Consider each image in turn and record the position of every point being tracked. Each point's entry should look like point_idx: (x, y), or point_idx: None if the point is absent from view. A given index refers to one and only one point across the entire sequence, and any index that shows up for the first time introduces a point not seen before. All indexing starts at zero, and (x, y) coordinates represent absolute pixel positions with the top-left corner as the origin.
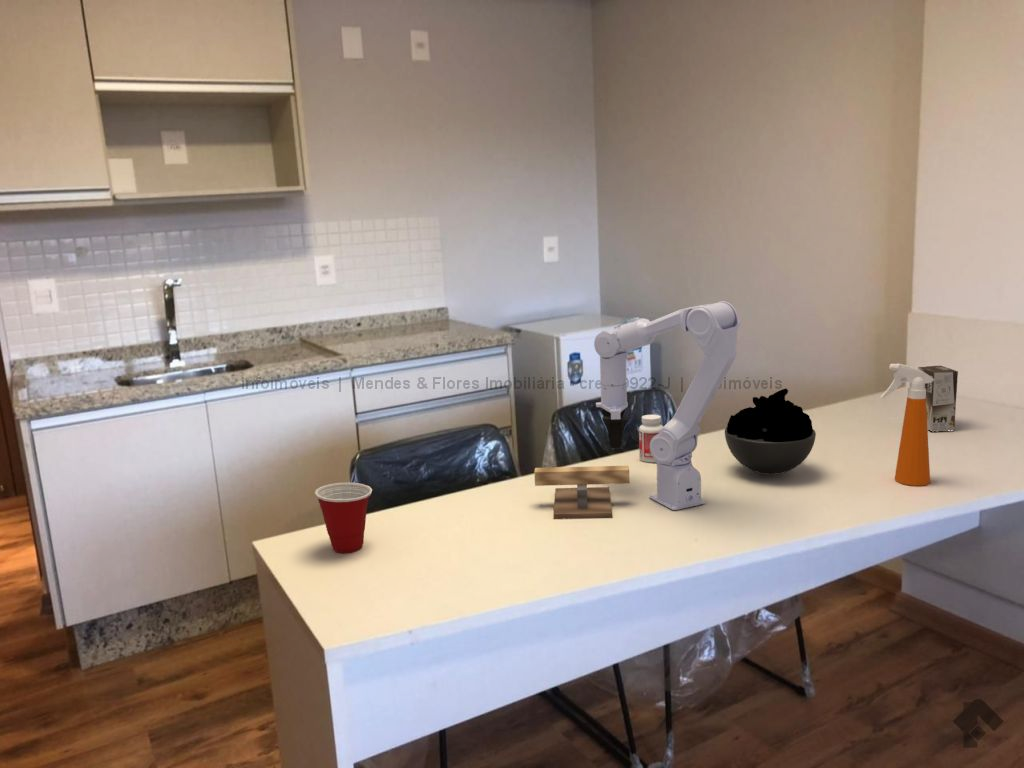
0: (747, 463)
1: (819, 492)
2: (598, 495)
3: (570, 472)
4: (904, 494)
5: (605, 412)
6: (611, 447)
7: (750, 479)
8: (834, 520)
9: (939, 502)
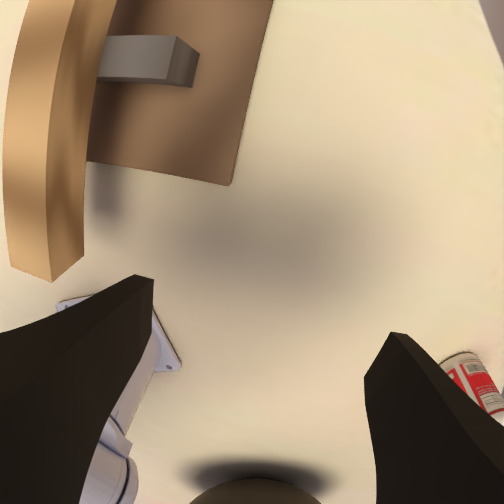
0: (226, 488)
1: (159, 478)
2: (144, 126)
3: (31, 7)
4: (150, 500)
5: (489, 501)
6: (128, 277)
7: (233, 464)
8: None
9: None
